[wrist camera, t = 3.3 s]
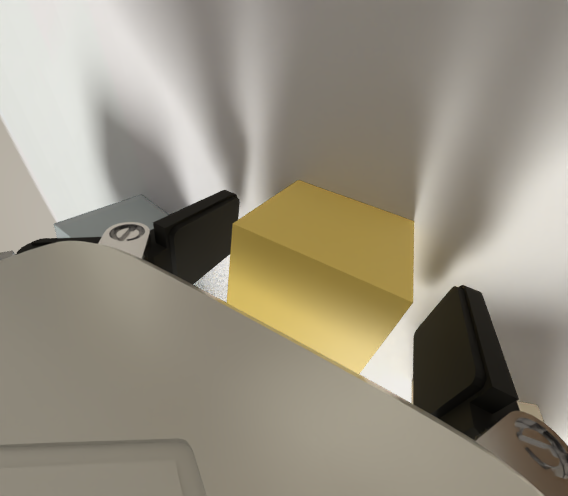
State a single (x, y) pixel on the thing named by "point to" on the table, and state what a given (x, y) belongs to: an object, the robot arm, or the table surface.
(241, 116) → the table surface
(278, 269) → the mustard cube
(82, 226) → the slate cube
